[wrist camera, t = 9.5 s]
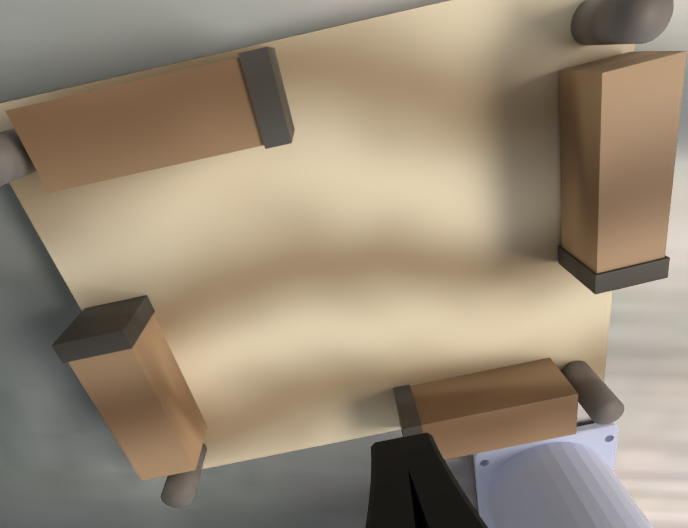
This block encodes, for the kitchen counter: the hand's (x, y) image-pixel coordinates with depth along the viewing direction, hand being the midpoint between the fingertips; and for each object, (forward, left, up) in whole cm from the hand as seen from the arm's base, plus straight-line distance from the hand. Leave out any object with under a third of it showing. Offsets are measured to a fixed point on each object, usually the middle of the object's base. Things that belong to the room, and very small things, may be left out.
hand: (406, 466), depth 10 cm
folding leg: (+3, -9, -9) cm, 13 cm away
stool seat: (0, 0, -10) cm, 10 cm away
